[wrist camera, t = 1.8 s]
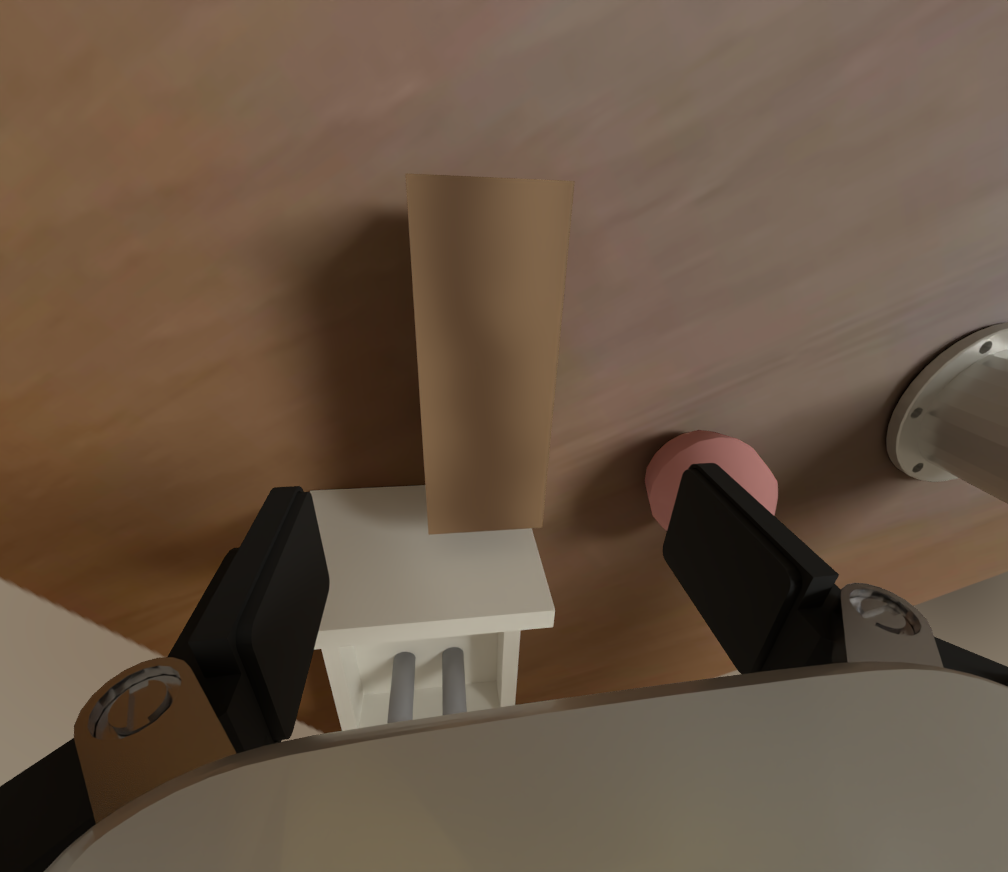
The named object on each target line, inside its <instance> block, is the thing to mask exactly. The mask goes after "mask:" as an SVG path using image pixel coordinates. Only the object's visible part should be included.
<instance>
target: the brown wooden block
mask: <svg viewBox="0 0 1008 872" xmlns="http://www.w3.org/2000/svg"><path fill="white" fill-rule="evenodd" d="M406 190H407V206H408V221H409V237H410V253H411V268H412V284H413V300H414V315H415V331H416V347H417V362H418V378H419V394H420V409H421V425H422V441H423V456H424V472H425V488H426V503H427V519H428V535H433V534H449V533H465V532H481V531H497V530H513V529H529V528H542V524H543V514H544V503H545V492H546V481H547V471H548V460H549V449H550V439H551V428H552V417H553V406H554V396H555V385H556V374H557V364H558V353H559V342H560V331H561V321H562V310H563V299H564V289H565V278H566V267H567V256H568V246H569V235H570V224H571V214H572V203H573V192H574V181H560V180H537V179H515V178H493V177H471V176H448V175H426V174H406Z"/></svg>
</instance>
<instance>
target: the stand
mask: <svg viewBox="0 0 1008 872" xmlns="http://www.w3.org/2000/svg"><path fill="white" fill-rule="evenodd" d="M310 493H311V495H312V498H313V503H314V508H315V512H316V517H317V522H318V526H319V531H320V535H321V540H322V545H323V549H324V554H325V559H326V563H327V568H328V573H329V579H330V586H329V592H328V596H327V600H326V604H325V608H324V612H323V616H322V620H321V624H320V628H319V631H318V635H317V639H316V643H315V647H314V650H315V649H321V650H322V654H323V658H324V662H325V666H326V670H327V674H328V677H329V681H330V685H331V689H332V693H333V697H334V701H335V705H336V709H337V713H338V717H339V721H340V725H341V729H342V731H345V730H351V729H357V728H363V727H369V726H376V725H382V724H388V723H394V722H401V721H408V720H415V719H422V718H429V717H436V716H443V715H449V714H456V713H463V712H470V711H477V710H484V709H491V708H498V707H505V706H512V705H515V698H516V685H517V671H518V657H519V644H520V630H528V629H539V628H549V627H553V624H554V616H555V608H554V604H553V601H552V598H551V594H550V591H549V587H548V584H547V580H546V577H545V573H544V570H543V566H542V563H541V559H540V556H539V552H538V549H537V545H536V542H535V538H534V535H533V531H532V528H529V529H513V530H497V531H481V532H465V533H449V534H433V535H428V519H427V503H426V488H425V485H417V486H396V487H375V488H354V489H333V490H313V491H310Z"/></svg>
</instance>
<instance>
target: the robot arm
mask: <svg viewBox="0 0 1008 872" xmlns="http://www.w3.org/2000/svg"><path fill="white" fill-rule="evenodd" d="M886 443H887V452H888V455H889V457H890V460H891V461H892V463H893V464H894V465H895V466H896V468H898V469H899V470H901V471H903V472H904V473H906V474H907V475H909V476H911V477H913V478H916V479H918V480H921V481H928V482H939V481H948V480H952V479H957V478H960V479H962V480H964V481H966V482H968V483H969V484H971V485H973V486H975V487H977V488H979V489H981V490H983V491H985V492H987V493H988V494H990V495H992V496H994V497H996V498H998V499H1000V500H1002V501H1004V502H1006V503H1007V504H1008V322H1007V323H1002V324H997V325H993V326H990V327H988V328H985V329H982V330H980V331H977V332H975V333H973V334H971V335H969V336H968V337H966V338H964V339H962V340H960V341H958V342H957V343H955V344H954V345H952V346H951V347H949V348H948V349H947V350H945V351H944V352H942V353H941V354H940V355H939V356H937V357H936V358H935V359H934V360H933V361H932V362H931V363H929V364H928V365H927V366H926V367H925V368H924V369H923V370H922V371H921V372H920V374H919V375H918V376H917V377H916V378H915V379H914V380H913V381H912V383H911V384H910V385H909V387H908V388H907V389H906V391H905V392H904V394H903V395H902V396H901V398H900V400H899V402H898V404H897V406H896V407H895V409H894V411H893V414H892V417H891V419H890V422H889V425H888V431H887V437H886ZM663 556H664V559H665V561H666V562H667V564H668V565H669V567H670V568H671V570H672V571H673V573H674V574H675V576H676V578H677V579H678V581H679V582H680V584H681V585H682V587H683V588H684V590H685V591H686V593H687V594H688V596H689V597H690V599H691V600H692V602H693V603H694V605H695V606H696V608H697V609H698V611H699V612H700V614H701V615H702V617H703V618H704V620H705V621H706V623H707V624H708V626H709V627H710V629H711V630H712V632H713V634H714V635H715V637H716V638H717V640H718V641H719V643H720V644H721V646H722V647H723V649H724V650H725V652H726V653H727V655H728V656H729V658H730V659H731V661H732V662H733V664H734V665H735V667H736V668H737V670H738V671H739V672H740V673H741V675H733V676H726V677H718V678H710V679H703V680H695V681H687V682H680V683H672V684H665V685H657V686H650V687H643V688H635V689H628V690H621V691H613V692H606V693H599V694H592V695H584V696H577V697H570V698H563V699H555V700H548V701H541V702H534V703H526V704H519V705H512V706H505V707H498V708H491V709H484V710H477V711H470V712H463V713H456V714H449V715H443V716H436V717H429V718H422V719H415V720H408V721H401V722H394V723H388V724H382V725H376V726H369V727H363V728H357V729H351V730H345V731H338V732H332V733H326V734H320V735H313V736H308V737H304V738H299V739H294V740H290V741H284V742H281V740H284V739H289V738H290V736H291V734H292V732H293V729H294V725H295V721H296V717H297V713H298V709H299V705H300V701H301V698H302V694H303V690H304V686H305V682H306V678H307V674H308V670H309V666H310V663H311V659H312V655H313V651H314V647H315V643H316V639H317V635H318V631H319V628H320V624H321V620H322V616H323V612H324V608H325V604H326V600H327V596H328V592H329V586H330V579H329V573H328V568H327V563H326V559H325V554H324V549H323V545H322V540H321V535H320V531H319V526H318V522H317V517H316V512H315V508H314V503H313V498H312V495H311V493H310V492H303V489H302V488H301V487H300V486H294V487H277V488H273V489H272V490H271V491H270V493H269V495H268V497H267V499H266V500H265V502H264V504H263V506H262V508H261V510H260V511H259V513H258V515H257V517H256V519H255V520H254V522H253V524H252V526H251V528H250V530H249V531H248V533H247V535H246V537H245V539H244V541H243V542H242V544H241V546H240V548H233V549H232V550H230V551H229V552H228V553H227V555H226V556H225V558H224V560H223V561H222V563H221V565H220V567H219V568H218V570H217V572H216V573H215V575H214V577H213V579H212V580H211V582H210V584H209V586H208V587H207V589H206V591H205V593H204V594H203V596H202V598H201V600H200V601H199V603H198V605H197V607H196V608H195V610H194V612H193V613H192V615H191V617H190V619H189V620H188V622H187V624H186V626H185V627H184V629H183V631H182V633H181V634H180V636H179V638H178V640H177V641H176V643H175V645H174V647H173V648H172V650H171V652H170V653H169V655H168V657H166V658H156V659H152V660H148V661H145V662H141V663H139V664H137V665H135V666H133V667H131V668H129V669H126V670H124V671H123V672H121V673H120V674H118V675H117V676H115V677H114V678H112V679H111V680H109V681H108V682H107V683H105V684H104V685H103V686H102V687H101V688H100V689H99V690H98V691H97V692H96V693H94V694H93V695H92V697H91V698H90V699H89V700H88V702H87V703H86V704H85V706H84V707H83V708H82V710H81V711H80V714H79V716H78V718H77V721H76V723H75V725H74V738H73V739H72V740H70V741H69V742H67V743H65V744H64V745H62V746H61V747H59V748H58V749H56V750H55V751H53V752H52V753H50V754H49V755H47V756H46V757H44V758H43V759H41V760H40V761H38V762H37V763H35V764H34V765H32V766H31V767H29V768H28V769H26V770H25V771H23V772H22V773H20V774H19V775H17V776H16V777H14V778H13V779H11V780H10V781H8V782H6V783H5V784H4V785H2V786H1V787H0V872H1008V667H1007V666H1004V665H1002V664H999V663H997V662H994V661H992V660H990V659H987V658H984V657H982V656H980V655H977V654H975V653H972V652H970V651H968V650H965V649H962V648H960V647H958V646H955V645H953V644H950V643H948V642H946V641H943V640H941V639H938V638H936V637H934V636H933V633H932V629H931V627H930V625H929V623H928V621H927V619H926V618H925V617H924V616H923V615H922V614H921V613H920V612H919V611H918V610H917V609H916V608H915V607H914V606H912V605H911V604H910V603H909V602H907V601H906V600H904V599H903V598H901V597H899V596H897V595H896V594H894V593H892V592H890V591H887V590H885V589H882V588H880V587H877V586H873V585H869V584H863V583H852V584H847V585H846V586H845V587H843V588H842V589H839V588H838V587H837V586H836V585H835V584H834V583H835V581H836V579H837V578H838V576H839V574H838V573H837V572H835V571H834V570H833V569H832V568H831V567H830V566H829V565H828V564H827V563H825V562H824V561H823V560H822V559H821V558H820V557H819V556H818V555H817V554H816V553H814V552H813V551H812V550H811V549H810V548H809V547H808V546H807V545H806V544H805V543H803V542H802V541H801V540H800V539H799V538H798V537H797V536H796V535H795V534H794V533H792V532H791V531H790V530H789V529H788V528H787V527H786V526H785V525H784V524H783V523H781V522H780V521H779V520H778V519H777V518H776V517H775V516H774V515H773V514H771V513H770V512H769V511H768V510H767V509H766V508H765V507H764V506H763V505H762V504H760V503H759V502H758V501H757V500H756V499H755V498H754V497H753V496H752V495H751V494H749V493H748V492H747V491H746V490H745V489H744V488H743V487H742V486H741V485H740V484H738V483H737V482H736V481H735V480H734V479H733V478H732V477H731V476H730V475H729V474H727V473H726V472H725V471H724V470H723V469H722V468H721V467H720V466H719V465H717V464H716V463H699V464H692V465H690V467H689V468H688V470H685V471H684V472H683V474H682V478H681V481H680V485H679V489H678V493H677V496H676V500H675V504H674V507H673V511H672V515H671V519H670V522H669V526H668V530H667V533H666V537H665V541H664V545H663Z"/></svg>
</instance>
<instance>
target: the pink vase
mask: <svg viewBox="0 0 1008 872" xmlns="http://www.w3.org/2000/svg"><path fill="white" fill-rule="evenodd" d="M699 463H716V464H717V465H719V466H720V467H721V468H722V469H723V470H724V471H725V472H726V473H727V474H729V475H730V476H731V477H732V478H733V479H734V480H735V481H736V482H737V483H738V484H740V485H741V486H742V487H743V488H744V489H745V490H746V491H747V492H748V493H749V494H751V495H752V496H753V497H754V498H755V499H756V500H757V501H758V502H759V503H760V504H762V505H763V506H764V507H765V508H766V509H767V510H768V511H769V512H770V513H771V514H773V515H774V516H775V511H776V506H777V500H778V482H777V480H776V479H775V477H774V475H773V474H772V472H771V470H770V469H769V468H768V467H767V465H766V464H765V463H764V461H763V460H762V459H761V458H760V456H759V455H758V454H757V453H756V451H755V450H754V449H753V448H752V447H751V446H749V445H747V444H746V443H744V442H742V441H740V440H739V439H736V438H732V437H729V436H726V435H722V434H719V433H716V432H711V431H702V430H697V431H693V432H688V433H683V434H681V435H679V436H677V437H675V438H674V439H672V440H670V441H668V442H667V443H666V444H665V445H664V446H662V447H661V448H660V449H659V450H658V451H657V452H656V453H655V454H654V456H653V458H652V460H651V461H650V463H649V465H648V466H647V470H646V476H645V485H646V489H647V494H648V498H649V503H650V507H651V511H652V516H653V517H654V518H655V519H656V520H657V522H658V523H659V524H660V525H661V526H662V527H663V528H664V529H665V530H666V531H667V530H668V526H669V522H670V519H671V515H672V511H673V507H674V504H675V500H676V496H677V493H678V489H679V485H680V481H681V478H682V474H683V472H684V471H685V470H688V468H689V467H690V465H692V464H699Z"/></svg>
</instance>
